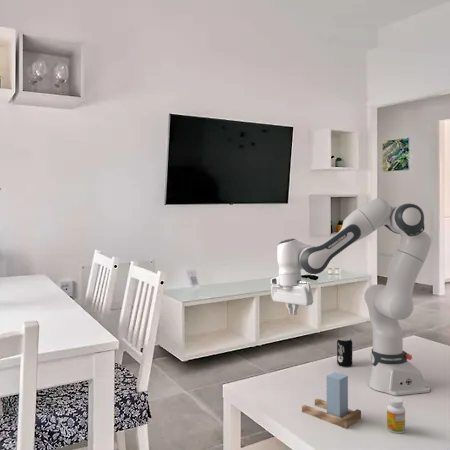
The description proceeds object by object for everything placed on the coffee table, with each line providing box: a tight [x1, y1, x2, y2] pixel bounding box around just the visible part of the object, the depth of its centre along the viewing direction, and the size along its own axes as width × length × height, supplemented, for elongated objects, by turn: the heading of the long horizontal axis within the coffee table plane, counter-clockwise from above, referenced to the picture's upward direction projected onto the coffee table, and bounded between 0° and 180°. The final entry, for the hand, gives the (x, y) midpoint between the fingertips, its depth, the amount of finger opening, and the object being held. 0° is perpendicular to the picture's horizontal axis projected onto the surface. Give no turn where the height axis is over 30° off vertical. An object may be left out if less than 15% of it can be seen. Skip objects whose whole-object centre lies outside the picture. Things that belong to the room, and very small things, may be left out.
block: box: [326, 371, 349, 418], centre depth 157 cm, size 5×5×14 cm
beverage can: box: [336, 336, 353, 368], centre depth 208 cm, size 7×7×12 cm
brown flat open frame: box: [301, 397, 362, 429], centre depth 159 cm, size 18×9×3 cm, turn 44°
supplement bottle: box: [386, 396, 406, 435], centre depth 148 cm, size 5×5×10 cm
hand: (293, 314), depth 187 cm, fingers closed
